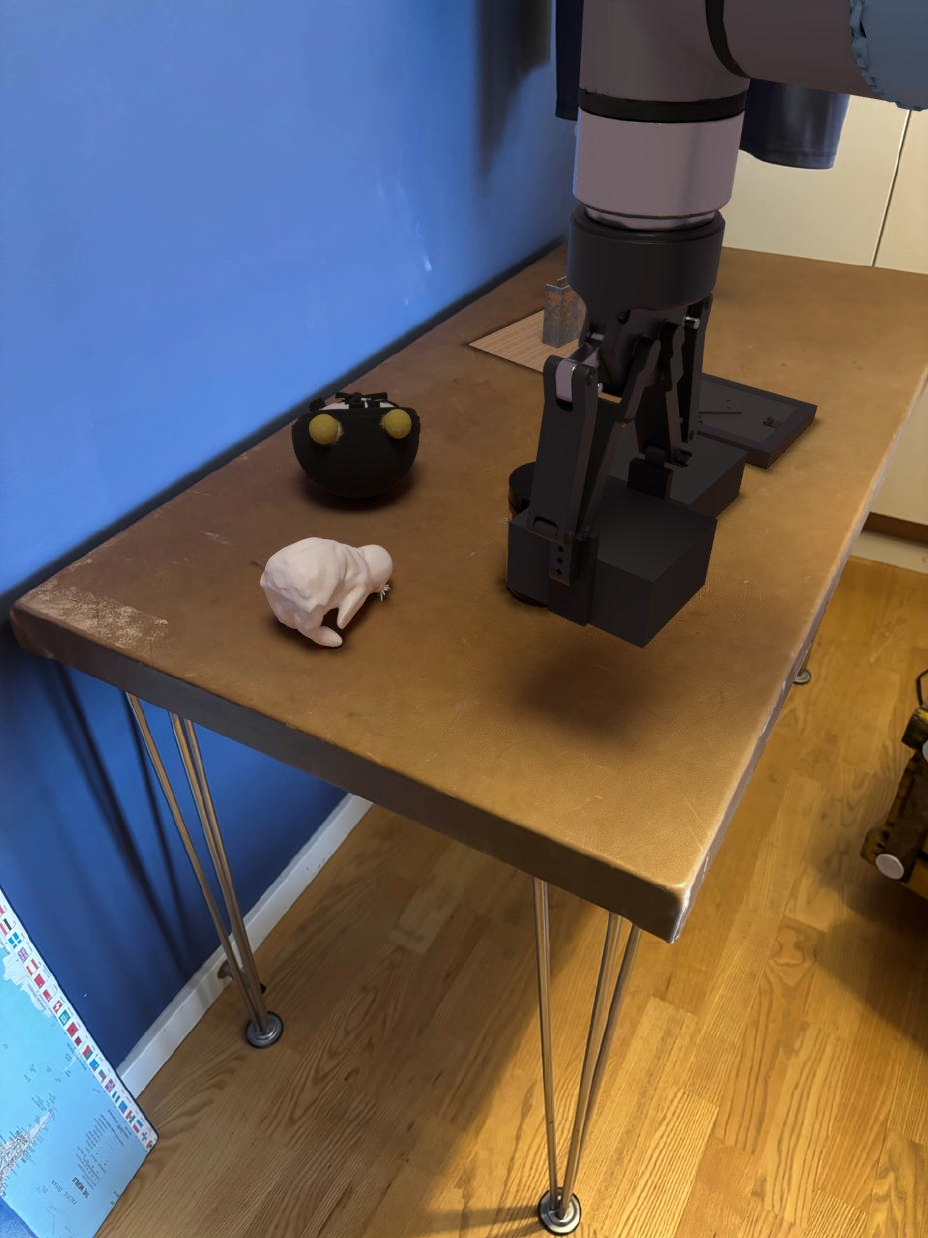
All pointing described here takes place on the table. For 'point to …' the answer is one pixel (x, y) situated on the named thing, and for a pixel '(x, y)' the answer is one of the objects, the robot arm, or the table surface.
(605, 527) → the top pad
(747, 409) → the picture frame
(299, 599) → the white clay creature
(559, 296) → the architectural model on board
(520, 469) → the supplement container
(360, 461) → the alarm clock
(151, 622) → the table surface
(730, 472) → the dark rectangular box
